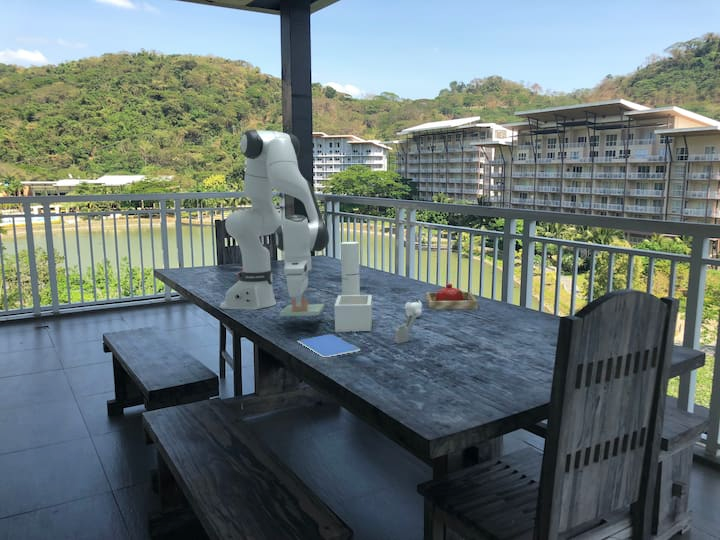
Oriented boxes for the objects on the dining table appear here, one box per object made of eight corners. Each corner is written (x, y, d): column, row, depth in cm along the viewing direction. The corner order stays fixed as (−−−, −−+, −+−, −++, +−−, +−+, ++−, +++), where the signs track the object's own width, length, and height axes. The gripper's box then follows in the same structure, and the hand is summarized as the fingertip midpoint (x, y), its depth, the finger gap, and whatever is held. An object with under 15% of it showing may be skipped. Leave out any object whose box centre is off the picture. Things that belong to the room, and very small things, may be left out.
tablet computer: (361, 353, 162) (361, 348, 162) (323, 361, 156) (323, 356, 156) (331, 337, 179) (331, 333, 179) (296, 344, 173) (295, 340, 172)
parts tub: (335, 331, 183) (334, 305, 182) (339, 319, 199) (338, 295, 197) (371, 331, 183) (370, 305, 181) (372, 319, 198) (371, 294, 197)
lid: (279, 317, 182) (279, 300, 182) (288, 309, 199) (288, 293, 199) (318, 316, 182) (318, 299, 181) (324, 309, 199) (323, 293, 198)
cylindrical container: (358, 306, 219) (356, 243, 215) (340, 305, 221) (339, 243, 217) (361, 302, 226) (360, 241, 222) (344, 301, 228) (343, 241, 223)
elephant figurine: (412, 320, 196) (412, 304, 195) (399, 316, 202) (399, 300, 201) (427, 317, 199) (427, 301, 198) (414, 313, 206) (413, 297, 205)
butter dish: (429, 305, 219) (429, 284, 218) (444, 300, 228) (444, 280, 226) (453, 309, 212) (454, 287, 210) (469, 303, 220) (469, 283, 219)
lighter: (398, 343, 169) (398, 318, 167) (394, 342, 170) (394, 317, 169) (416, 339, 173) (416, 315, 171) (412, 338, 174) (412, 313, 173)
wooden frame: (429, 309, 212) (429, 301, 211) (426, 299, 229) (426, 292, 228) (477, 308, 211) (477, 301, 210) (470, 298, 228) (470, 291, 227)
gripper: (293, 260, 192) (295, 298, 194) (283, 269, 172) (285, 312, 174) (311, 259, 192) (312, 298, 194) (303, 269, 171) (305, 312, 174)
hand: (299, 305), depth 184 cm, fingers closed on lid
